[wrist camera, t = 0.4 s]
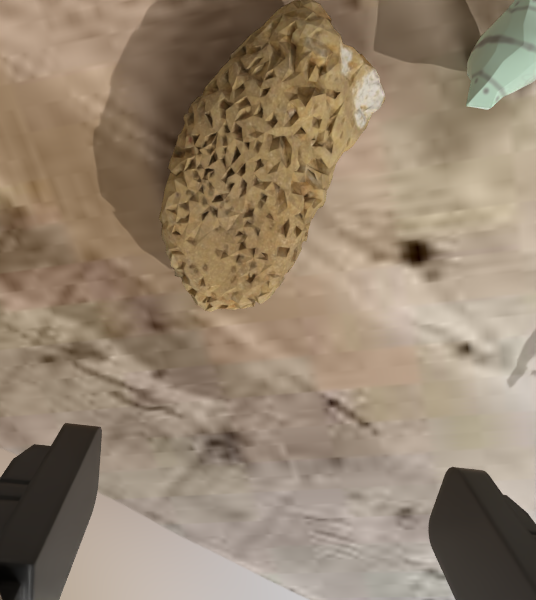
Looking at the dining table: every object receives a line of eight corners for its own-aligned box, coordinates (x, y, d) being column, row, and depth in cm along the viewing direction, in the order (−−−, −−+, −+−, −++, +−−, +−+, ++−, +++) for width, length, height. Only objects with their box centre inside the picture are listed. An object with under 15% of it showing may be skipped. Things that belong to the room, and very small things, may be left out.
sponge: (268, 1, 34) (88, 218, 34) (314, -37, 27) (88, 236, 27) (378, 135, 40) (224, 321, 40) (440, 132, 33) (253, 357, 33)
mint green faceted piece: (487, -7, 34) (545, -40, 28) (534, 20, 35) (601, -5, 28) (430, 104, 36) (471, 99, 30) (475, 128, 37) (525, 128, 31)
